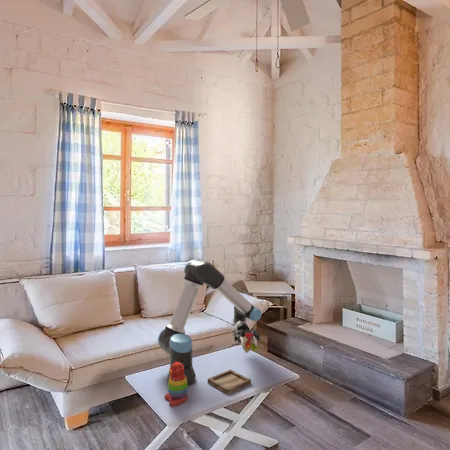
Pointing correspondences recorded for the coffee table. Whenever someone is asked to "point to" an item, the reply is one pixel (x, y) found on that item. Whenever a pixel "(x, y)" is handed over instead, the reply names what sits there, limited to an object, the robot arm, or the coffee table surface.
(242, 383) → the walnut plate
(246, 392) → the coffee table surface
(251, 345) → the bird rattle
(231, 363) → the coffee table surface
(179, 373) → the stacking bear
